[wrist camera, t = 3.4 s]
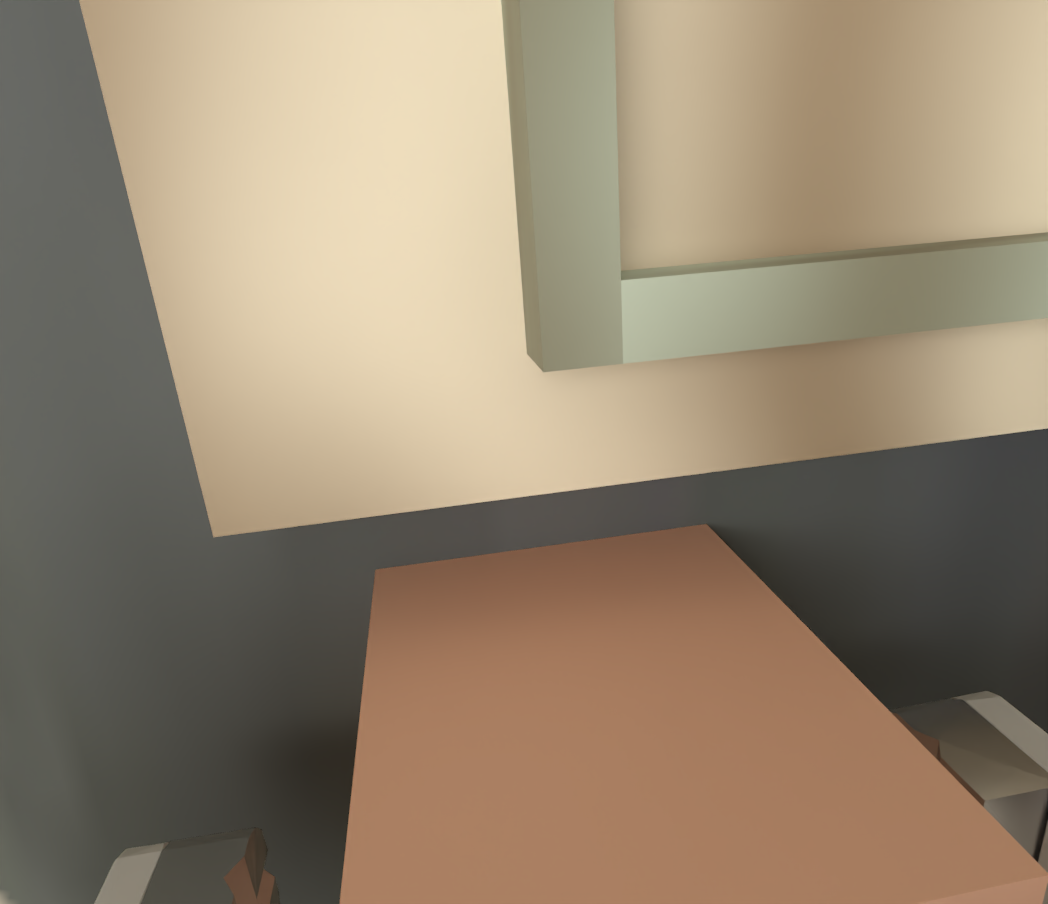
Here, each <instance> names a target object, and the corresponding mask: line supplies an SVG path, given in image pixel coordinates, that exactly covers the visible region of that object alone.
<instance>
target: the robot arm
mask: <svg viewBox="0 0 1048 904" xmlns="http://www.w3.org/2000/svg"><path fill="white" fill-rule="evenodd" d="M889 711H890V712H891V713H892V714H893V715H894V716H895V717H896V718H897V719H898V720H899V721H900V722H901V723H902V724H903V725H904V726H905V727H906V728H907V730H908V731H909V732H910V733H911V734H912V735H913V736H914V737H915V738H916V739H917V740H918V741H919V742H920V743H921V744H922V745H923V746H924V747H925V748H926V749H927V750H928V751H929V752H930V753H931V754H932V755H933V756H934V757H935V758H936V759H937V760H938V761H939V762H940V763H941V764H942V765H943V766H944V767H945V768H946V769H947V770H948V771H949V772H950V773H951V774H952V775H953V777H954V778H955V779H956V780H957V781H958V782H959V783H960V784H961V785H962V786H963V787H964V788H965V789H966V790H967V791H968V792H969V793H970V794H971V795H972V796H973V797H974V798H975V799H976V800H977V801H978V802H979V803H980V804H981V805H982V806H983V807H984V808H985V809H986V810H987V811H988V812H989V813H990V814H991V815H992V816H993V817H994V818H995V819H996V820H997V821H998V822H999V824H1000V825H1001V826H1002V827H1003V828H1004V829H1005V830H1006V831H1007V832H1008V833H1009V834H1010V835H1011V836H1012V837H1013V838H1014V839H1015V840H1016V841H1017V842H1018V843H1019V844H1020V845H1021V846H1022V847H1023V848H1024V849H1025V850H1026V851H1027V852H1028V853H1029V854H1030V855H1031V856H1032V857H1033V858H1034V859H1035V860H1036V861H1037V862H1038V863H1039V864H1040V865H1041V866H1042V867H1043V868H1044V869H1045V871H1046V872H1047V873H1048V734H1047V733H1046V732H1045V731H1044V730H1042V729H1041V728H1040V727H1038V726H1037V725H1036V724H1035V723H1033V722H1032V721H1031V720H1030V719H1028V718H1027V717H1026V716H1025V715H1023V714H1022V713H1021V712H1020V711H1018V710H1017V709H1016V708H1015V707H1013V706H1012V705H1011V704H1010V703H1008V702H1007V701H1006V700H1004V699H1003V698H1002V697H1001V696H999V695H997V694H994V693H991V692H989V691H983V692H978V693H973V694H967V695H962V696H957V697H953V698H951V699H942V700H937V701H932V702H927V703H922V704H917V705H911V706H906V707H901V708H896V709H891V710H889ZM267 851H268V849H267V846H266V842H265V839H264V836H263V833H262V830H261V829H259V828H248V829H242V830H236V831H229V832H223V833H217V834H210V835H204V836H198V837H191V838H185V839H179V840H173V841H170V842H166V843H160V844H153V845H147V846H140V847H134V848H127V849H125V850H124V851H123V852H122V853H121V855H120V856H119V857H118V858H117V859H116V860H115V861H114V863H113V865H112V867H111V869H110V871H109V873H108V875H107V877H106V880H105V882H104V884H103V886H102V888H101V890H100V892H99V895H98V897H97V899H96V901H95V903H94V904H280V898H279V891H278V887H277V883H276V879H275V877H274V876H273V875H271V874H270V873H268V872H267V871H265V870H264V864H265V860H266V855H267ZM1042 904H1048V883H1047V887H1046V891H1045V895H1044V899H1043V903H1042Z"/></svg>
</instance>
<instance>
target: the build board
mask: <svg viewBox="0 0 1048 904" xmlns="http://www.w3.org/2000/svg"><path fill="white" fill-rule="evenodd" d="M79 1H80V5H81V9H82V13H83V17H84V21H85V25H86V29H87V33H88V37H89V41H90V45H91V49H92V53H93V57H94V61H95V65H96V69H97V73H98V77H99V81H100V85H101V89H102V93H103V97H104V101H105V105H106V109H107V113H108V117H109V121H110V125H111V129H112V133H113V137H114V141H115V145H116V149H117V153H118V157H119V161H120V165H121V169H122V173H123V177H124V181H125V185H126V189H127V193H128V197H129V201H130V205H131V209H132V213H133V217H134V221H135V225H136V229H137V233H138V237H139V241H140V245H141V249H142V253H143V257H144V261H145V265H146V269H147V273H148V277H149V281H150V285H151V289H152V293H153V297H154V301H155V305H156V309H157V313H158V317H159V321H160V325H161V329H162V333H163V337H164V341H165V345H166V349H167V353H168V357H169V361H170V365H171V369H172V373H173V377H174V381H175V385H176V389H177V393H178V397H179V401H180V405H181V409H182V413H183V417H184V421H185V425H186V429H187V433H188V437H189V441H190V445H191V449H192V453H193V457H194V461H195V465H196V469H197V473H198V477H199V481H200V485H201V489H202V493H203V497H204V501H205V505H206V509H207V513H208V517H209V521H210V525H211V529H212V533H213V537H219V536H226V535H234V534H242V533H249V532H257V531H265V530H272V529H280V528H288V527H295V526H303V525H311V524H318V523H326V522H334V521H341V520H349V519H357V518H364V517H372V516H380V515H387V514H395V513H403V512H410V511H418V510H426V509H433V508H441V507H449V506H456V505H464V504H472V503H479V502H487V501H495V500H502V499H510V498H518V497H525V496H533V495H541V494H548V493H556V492H564V491H571V490H579V489H587V488H594V487H602V486H610V485H617V484H625V483H633V482H640V481H648V480H656V479H663V478H671V477H679V476H686V475H694V474H702V473H709V472H717V471H725V470H732V469H740V468H748V467H755V466H763V465H771V464H778V463H786V462H794V461H801V460H809V459H817V458H824V457H832V456H840V455H847V454H855V453H863V452H870V451H878V450H886V449H893V448H901V447H909V446H916V445H924V444H932V443H939V442H947V441H955V440H962V439H970V438H977V437H985V436H993V435H1000V434H1008V433H1016V432H1023V431H1031V430H1039V429H1046V428H1048V0H79Z"/></svg>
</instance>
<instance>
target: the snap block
mask: <svg viewBox="0 0 1048 904" xmlns="http://www.w3.org/2000/svg"><path fill="white" fill-rule="evenodd" d="M1047 883H1048V873H1047V872H1046V871H1045V869H1044V868H1043V867H1042V866H1041V865H1040V864H1039V863H1038V862H1037V861H1036V860H1035V859H1034V858H1033V857H1032V856H1031V855H1030V854H1029V853H1028V852H1027V851H1026V850H1025V849H1024V848H1023V847H1022V846H1021V845H1020V844H1019V843H1018V842H1017V841H1016V840H1015V839H1014V838H1013V837H1012V836H1011V835H1010V834H1009V833H1008V832H1007V831H1006V830H1005V829H1004V828H1003V827H1002V826H1001V825H1000V824H999V822H998V821H997V820H996V819H995V818H994V817H993V816H992V815H991V814H990V813H989V812H988V811H987V810H986V809H985V808H984V807H983V806H982V805H981V804H980V803H979V802H978V801H977V800H976V799H975V798H974V797H973V796H972V795H971V794H970V793H969V792H968V791H967V790H966V789H965V788H964V787H963V786H962V785H961V784H960V783H959V782H958V781H957V780H956V779H955V778H954V777H953V775H952V774H951V773H950V772H949V771H948V770H947V769H946V768H945V767H944V766H943V765H942V764H941V763H940V762H939V761H938V760H937V759H936V758H935V757H934V756H933V755H932V754H931V753H930V752H929V751H928V750H927V749H926V748H925V747H924V746H923V745H922V744H921V743H920V742H919V741H918V740H917V739H916V738H915V737H914V736H913V735H912V734H911V733H910V732H909V731H908V730H907V728H906V727H905V726H904V725H903V724H902V723H901V722H900V721H899V720H898V719H897V718H896V717H895V716H894V715H893V714H892V713H891V712H890V711H889V710H888V709H887V708H886V707H885V706H884V705H883V704H882V703H881V702H880V701H879V700H878V699H877V698H876V697H875V696H874V695H873V694H872V693H871V692H870V691H869V690H868V689H867V688H866V687H865V686H864V685H863V684H862V683H861V681H860V680H859V679H858V678H857V677H856V676H855V675H854V674H853V673H852V672H851V671H850V670H849V669H848V668H847V667H846V666H845V665H844V664H843V663H842V662H841V661H840V660H839V659H838V658H837V657H836V656H835V655H834V654H833V653H832V652H831V651H830V650H829V649H828V648H827V647H826V646H825V645H824V644H823V643H822V642H821V641H820V640H819V639H818V638H817V637H816V636H815V634H814V633H813V632H812V631H811V630H810V629H809V628H808V627H807V626H806V625H805V624H804V623H803V622H802V621H801V620H800V619H799V618H798V617H797V616H796V615H795V614H794V613H793V612H792V611H791V610H790V609H789V608H788V607H787V606H786V605H785V604H784V603H783V602H782V601H781V600H780V599H779V598H778V597H777V596H776V595H775V594H774V593H773V592H772V591H771V590H770V589H769V587H768V586H767V585H766V584H765V583H764V582H763V581H762V580H761V579H760V578H759V577H758V576H757V575H756V574H755V573H754V572H753V571H752V570H751V569H750V568H749V567H748V566H747V565H746V564H745V563H744V562H743V561H742V560H741V559H740V558H739V557H738V556H737V555H736V554H735V553H734V552H733V551H732V550H731V549H730V548H729V547H728V546H727V545H726V544H725V543H724V542H723V540H722V539H721V538H720V537H719V536H718V535H717V534H716V533H715V532H714V531H713V530H712V529H711V528H710V527H709V526H708V525H707V524H703V525H696V526H688V527H681V528H674V529H667V530H659V531H652V532H645V533H638V534H630V535H623V536H616V537H609V538H601V539H594V540H587V541H580V542H572V543H565V544H558V545H551V546H543V547H536V548H529V549H522V550H514V551H507V552H500V553H493V554H485V555H478V556H471V557H464V558H456V559H449V560H442V561H435V562H427V563H420V564H413V565H406V566H398V567H391V568H384V569H377V570H375V578H374V588H373V597H372V606H371V615H370V625H369V634H368V643H367V653H366V662H365V671H364V681H363V690H362V699H361V709H360V718H359V727H358V736H357V746H356V755H355V764H354V774H353V783H352V792H351V802H350V811H349V820H348V829H347V839H346V848H345V857H344V867H343V876H342V885H341V895H340V904H1042V903H1043V899H1044V895H1045V891H1046V887H1047Z"/></svg>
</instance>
